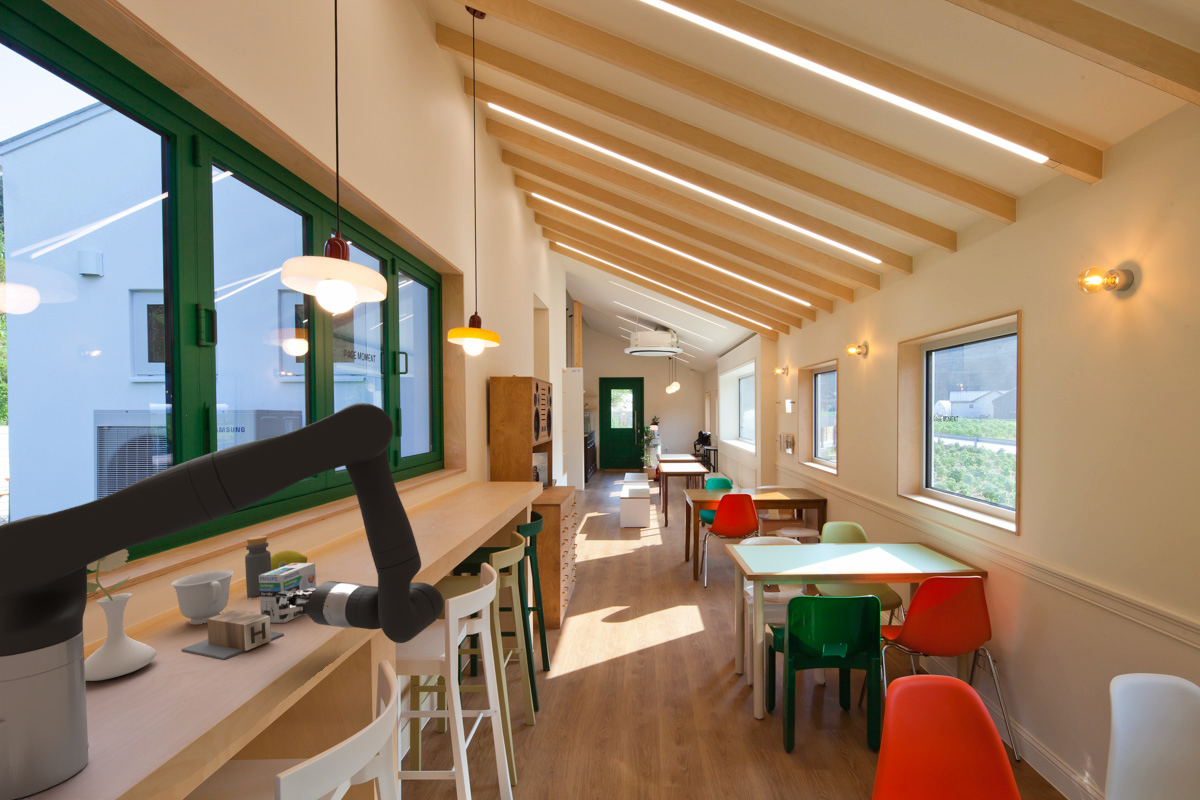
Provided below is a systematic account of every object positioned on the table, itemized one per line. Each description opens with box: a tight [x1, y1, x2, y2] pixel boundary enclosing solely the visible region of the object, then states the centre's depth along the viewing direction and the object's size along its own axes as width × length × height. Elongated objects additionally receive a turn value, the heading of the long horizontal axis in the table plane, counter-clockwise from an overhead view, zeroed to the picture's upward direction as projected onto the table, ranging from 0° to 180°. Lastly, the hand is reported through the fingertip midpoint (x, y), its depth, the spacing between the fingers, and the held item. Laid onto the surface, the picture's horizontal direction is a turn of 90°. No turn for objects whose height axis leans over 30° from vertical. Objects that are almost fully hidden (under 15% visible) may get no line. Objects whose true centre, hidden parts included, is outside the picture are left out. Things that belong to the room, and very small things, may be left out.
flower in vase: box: [84, 549, 157, 682], centre depth 103 cm, size 13×11×25 cm
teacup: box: [170, 569, 235, 625], centre depth 129 cm, size 12×15×10 cm
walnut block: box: [206, 610, 272, 652], centre depth 113 cm, size 5×5×12 cm
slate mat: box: [181, 630, 285, 661], centre depth 114 cm, size 14×12×1 cm
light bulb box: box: [259, 562, 317, 624], centre depth 130 cm, size 11×7×11 cm, turn 168°
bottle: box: [244, 535, 272, 598], centre depth 149 cm, size 6×6×15 cm
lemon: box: [271, 550, 308, 571], centre depth 163 cm, size 11×8×8 cm
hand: (279, 597), depth 108 cm, fingers closed
